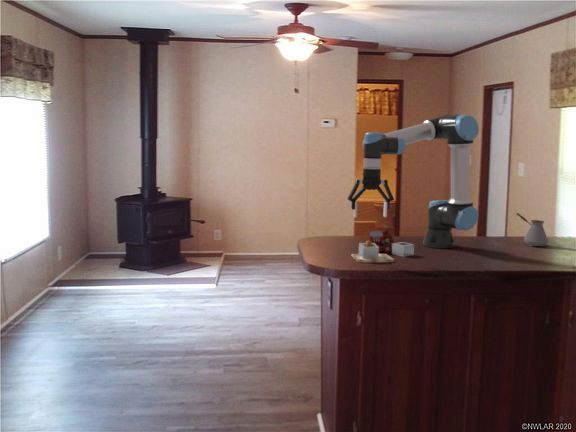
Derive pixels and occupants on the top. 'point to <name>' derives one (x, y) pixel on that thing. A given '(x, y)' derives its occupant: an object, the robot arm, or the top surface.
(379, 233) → the toy fire truck
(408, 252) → the white block with hole
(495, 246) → the top surface
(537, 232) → the coffee pot
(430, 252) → the top surface
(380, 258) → the keeper
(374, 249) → the white square box
